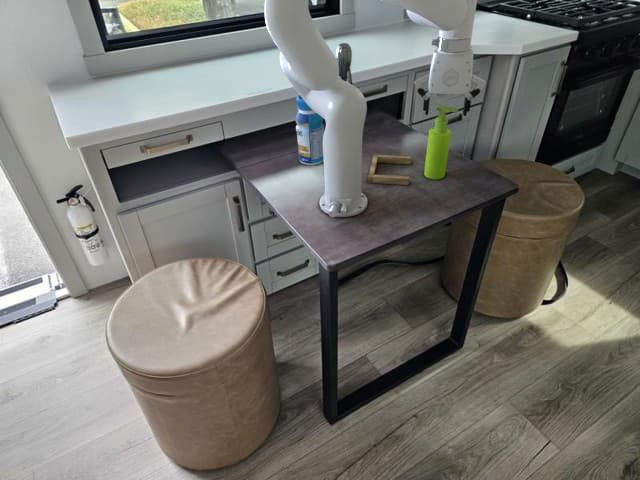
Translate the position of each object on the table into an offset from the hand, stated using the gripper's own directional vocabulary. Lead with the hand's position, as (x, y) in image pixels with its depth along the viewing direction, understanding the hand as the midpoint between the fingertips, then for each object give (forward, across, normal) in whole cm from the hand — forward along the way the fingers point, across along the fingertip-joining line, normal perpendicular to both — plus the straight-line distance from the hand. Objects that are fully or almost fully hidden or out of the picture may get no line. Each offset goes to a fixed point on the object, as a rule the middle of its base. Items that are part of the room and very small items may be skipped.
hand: (445, 113), depth 113 cm
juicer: (+18, -32, +23) cm, 44 cm away
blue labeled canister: (+18, -38, +5) cm, 43 cm away
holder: (+18, -14, 0) cm, 23 cm away
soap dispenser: (+18, 0, 0) cm, 18 cm away
